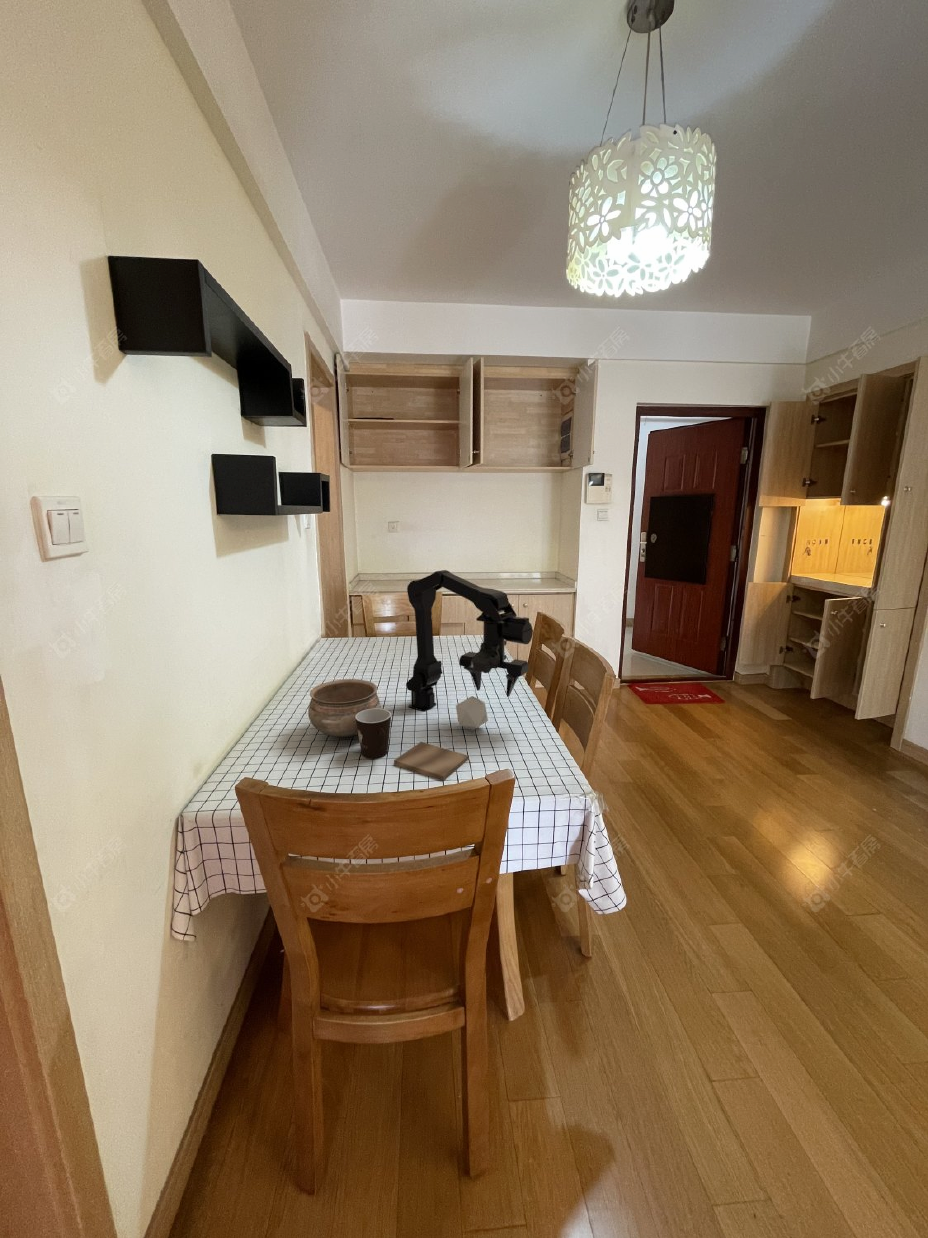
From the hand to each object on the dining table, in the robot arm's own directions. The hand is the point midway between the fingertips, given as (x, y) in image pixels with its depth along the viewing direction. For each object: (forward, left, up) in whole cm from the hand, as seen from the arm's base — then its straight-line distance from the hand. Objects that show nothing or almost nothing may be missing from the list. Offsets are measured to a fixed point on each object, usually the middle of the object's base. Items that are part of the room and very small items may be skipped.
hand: (493, 693), depth 133 cm
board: (-4, -25, -10) cm, 27 cm away
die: (-4, -5, -10) cm, 12 cm away
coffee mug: (-18, -30, -10) cm, 36 cm away
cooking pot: (-33, -24, -10) cm, 42 cm away
